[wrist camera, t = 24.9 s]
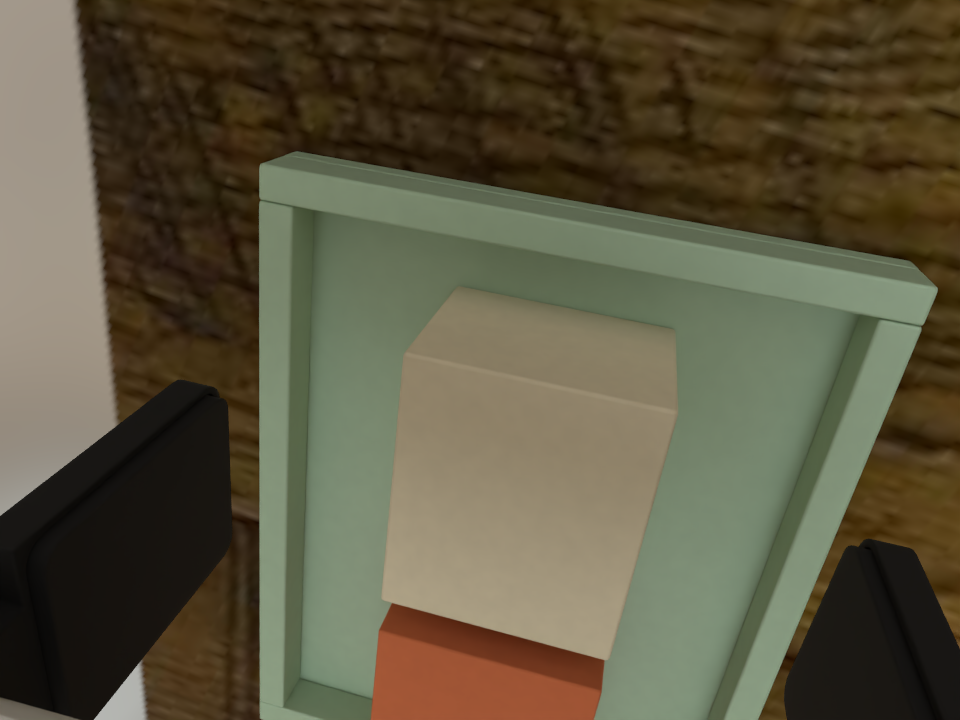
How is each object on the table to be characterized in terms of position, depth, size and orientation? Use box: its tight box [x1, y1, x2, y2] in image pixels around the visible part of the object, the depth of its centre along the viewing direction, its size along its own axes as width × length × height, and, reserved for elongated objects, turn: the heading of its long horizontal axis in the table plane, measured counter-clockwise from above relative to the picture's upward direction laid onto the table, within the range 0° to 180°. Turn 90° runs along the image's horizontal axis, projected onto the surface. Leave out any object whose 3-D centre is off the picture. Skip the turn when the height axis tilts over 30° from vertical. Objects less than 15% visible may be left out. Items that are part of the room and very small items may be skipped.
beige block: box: [381, 286, 678, 660], centre depth 16 cm, size 6×5×4 cm
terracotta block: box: [371, 603, 605, 720], centre depth 19 cm, size 6×5×4 cm
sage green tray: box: [259, 151, 938, 720], centre depth 19 cm, size 17×14×2 cm
